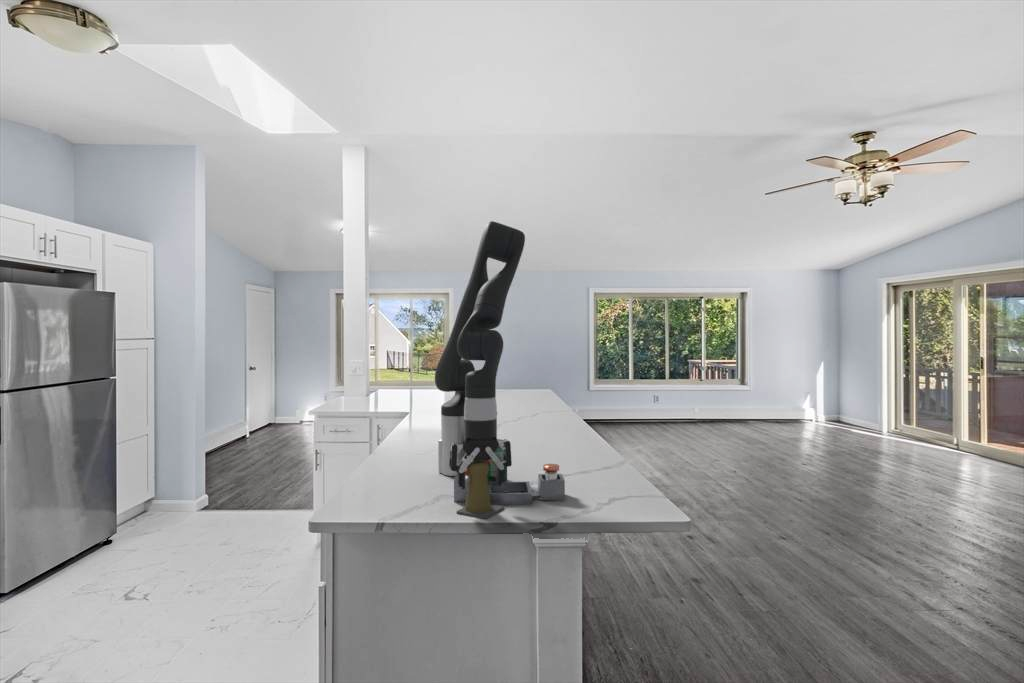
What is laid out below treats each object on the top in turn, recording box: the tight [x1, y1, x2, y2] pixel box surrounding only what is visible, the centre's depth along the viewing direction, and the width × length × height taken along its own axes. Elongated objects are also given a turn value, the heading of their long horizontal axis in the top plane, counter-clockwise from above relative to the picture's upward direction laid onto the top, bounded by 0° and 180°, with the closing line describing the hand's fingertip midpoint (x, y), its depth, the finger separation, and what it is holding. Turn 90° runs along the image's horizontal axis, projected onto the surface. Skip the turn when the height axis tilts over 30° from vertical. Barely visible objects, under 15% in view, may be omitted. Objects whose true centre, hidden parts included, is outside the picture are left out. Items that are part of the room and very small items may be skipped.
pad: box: [456, 504, 505, 520], centre depth 124 cm, size 8×8×1 cm
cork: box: [464, 461, 491, 513], centre depth 124 cm, size 6×6×11 cm
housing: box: [453, 473, 566, 505], centre depth 134 cm, size 27×11×5 cm, turn 92°
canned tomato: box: [481, 438, 508, 482], centre depth 149 cm, size 8×8×11 cm
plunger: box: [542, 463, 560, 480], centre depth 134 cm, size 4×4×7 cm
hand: (480, 486), depth 124 cm, fingers open, 8 cm apart
